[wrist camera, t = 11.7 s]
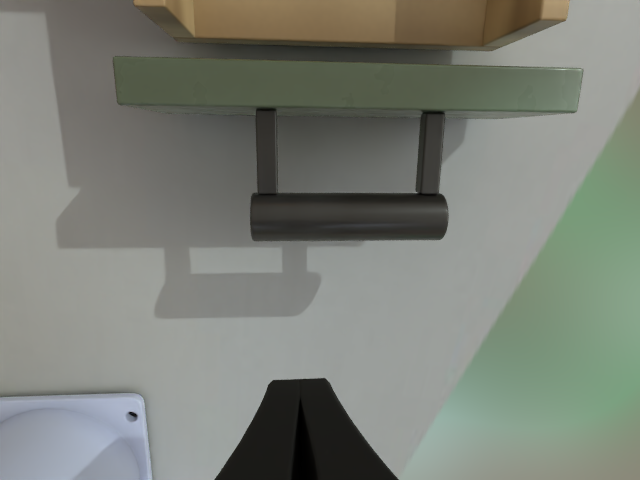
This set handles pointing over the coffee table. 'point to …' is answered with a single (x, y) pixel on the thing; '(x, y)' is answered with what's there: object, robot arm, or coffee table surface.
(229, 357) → the coffee table surface
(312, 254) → the coffee table surface
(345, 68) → the drawer
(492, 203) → the coffee table surface
